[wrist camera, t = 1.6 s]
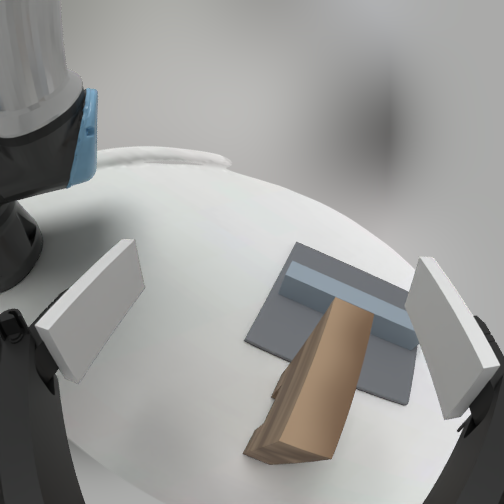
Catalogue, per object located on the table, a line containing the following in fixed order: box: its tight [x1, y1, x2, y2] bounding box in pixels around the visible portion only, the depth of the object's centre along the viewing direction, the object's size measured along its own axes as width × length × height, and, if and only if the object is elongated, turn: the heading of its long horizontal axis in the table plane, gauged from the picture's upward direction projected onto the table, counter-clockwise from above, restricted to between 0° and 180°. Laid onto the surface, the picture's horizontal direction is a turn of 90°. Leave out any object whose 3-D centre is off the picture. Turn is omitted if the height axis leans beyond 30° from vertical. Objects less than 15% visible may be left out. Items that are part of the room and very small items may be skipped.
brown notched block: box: [243, 297, 374, 465], centre depth 21 cm, size 3×10×16 cm, turn 155°
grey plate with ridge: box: [244, 242, 419, 405], centre depth 35 cm, size 22×18×5 cm
